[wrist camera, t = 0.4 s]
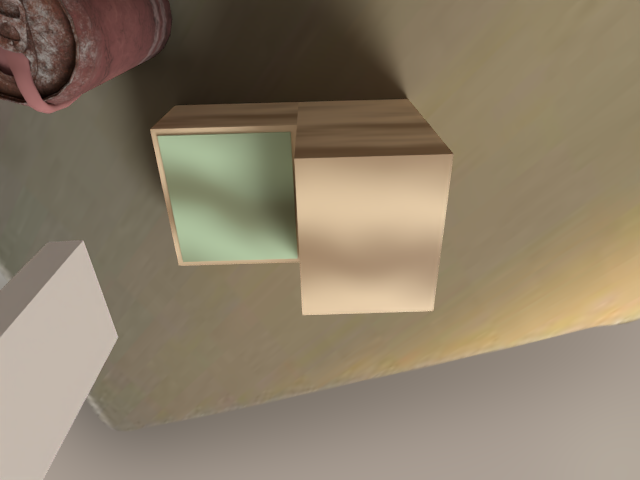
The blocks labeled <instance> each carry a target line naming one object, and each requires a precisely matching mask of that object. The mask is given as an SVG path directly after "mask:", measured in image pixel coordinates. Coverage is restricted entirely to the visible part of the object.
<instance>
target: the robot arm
mask: <svg viewBox="0 0 640 480" xmlns="http://www.w3.org/2000/svg"><path fill="white" fill-rule="evenodd" d="M117 338H118V336H117V333H116V330H115V327H114V324H113V322H112V319H111V316H110V313H109V311H108V308H107V305H106V302H105V299H104V297H103V294H102V291H101V288H100V285H99V283H98V280H97V277H96V274H95V272H94V269H93V266H92V263H91V260H90V258H89V255H88V252H87V249H86V246H85V244H84V241H83V240H78V241H59V242H47V243H46V244H45V245H44V247H43V248H42V249H41V250H40V251H39V252H38V253H37V254H36V255H35V256H34V257H33V258H32V259H31V260H30V261H29V262H28V263H27V264H26V265H25V266H24V267H23V268H22V269H21V270H20V271H19V272H18V273H17V274H16V275H15V276H14V277H13V278H12V279H11V280H10V281H9V282H8V283H7V284H6V285H5V286H4V287H3V288H2V289H1V290H0V480H43V479H44V477H45V475H46V473H47V471H48V469H49V467H50V465H51V463H52V461H53V460H54V458H55V456H56V454H57V452H58V450H59V448H60V446H61V445H62V443H63V441H64V439H65V437H66V435H67V433H68V431H69V429H70V427H71V426H72V424H73V422H74V420H75V418H76V416H77V414H78V412H79V410H80V409H81V407H82V405H83V403H84V401H85V399H86V397H87V395H88V393H89V391H90V390H91V388H92V386H93V384H94V382H95V380H96V378H97V376H98V374H99V373H100V371H101V369H102V367H103V365H104V363H105V361H106V359H107V357H108V355H109V354H110V352H111V350H112V348H113V346H114V344H115V342H116V340H117Z"/></svg>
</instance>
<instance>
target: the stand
mask: <svg viewBox="0 0 640 480" xmlns="http://www.w3.org/2000/svg"><path fill="white" fill-rule="evenodd" d="M150 131H151V136H152V140H153V145H154V150H155V155H156V159H157V164H158V169H159V174H160V178H161V183H162V188H163V192H164V197H165V202H166V207H167V211H168V216H169V221H170V225H171V230H172V235H173V240H174V244H175V249H176V254H177V259H178V263H179V266H187V265H219V264H251V263H283V262H300V276H301V295H302V314H303V315H320V314H351V313H382V312H414V311H433V308H434V300H435V293H436V285H437V277H438V270H439V262H440V254H441V247H442V239H443V231H444V224H445V216H446V208H447V200H448V193H449V185H450V177H451V170H452V162H453V153H452V152H451V150H450V149H449V148H448V147H447V146H446V144H445V143H444V142H443V141H442V140H441V138H440V137H439V136H438V135H437V133H436V132H435V131H434V130H433V129H432V127H431V126H430V125H429V124H428V123H427V121H426V120H425V119H424V118H423V116H422V115H421V114H420V113H419V112H418V110H417V109H416V108H415V107H414V106H413V104H412V103H411V102H410V101H409V100H408V99H387V100H351V101H316V102H280V103H244V104H208V105H175V106H174V107H173V108H172V109H171V110H170V111H169V112H168V113H167V114H165V115H164V116H163V117H162V118H161V119H160V120H159V121H158V122H157V123H156V124H155V125H154V126H153V127H152V128H151V129H150Z"/></svg>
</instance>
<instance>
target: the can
mask: <svg viewBox="0 0 640 480" xmlns="http://www.w3.org/2000/svg"><path fill="white" fill-rule="evenodd" d="M171 25H172V16H171V10H170V4H169V1H168V0H0V99H3V100H6V101H10V102H14V103H18V104H22V105H26V106H30V107H32V108H33V109H35V110H37V111H39V112H43V113H52V112H55V111H58V110H60V109H63V108H66V107H68V106H70V105H71V104H72V103H73V102H74V101H75V100H76V99H78V98H79V97H80V96H81V94H83V93H85V92H87V91H89V90H91V89H93V88H95V87H97V86H99V85H101V84H102V83H104V82H106V81H108V80H110V79H112V78H114V77H116V76H118V75H120V74H122V73H124V72H126V71H128V70H130V69H132V68H134V67H136V66H137V65H139V64H141V63H143V62H145V61H147V60H149V59H151V58H153V57H155V56H156V55H157V54H158V53H159V52H160V51H161V50H162V49H163V48H164V47H165V45H166V42H167V40H168V38H169V36H170V33H171Z"/></svg>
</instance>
